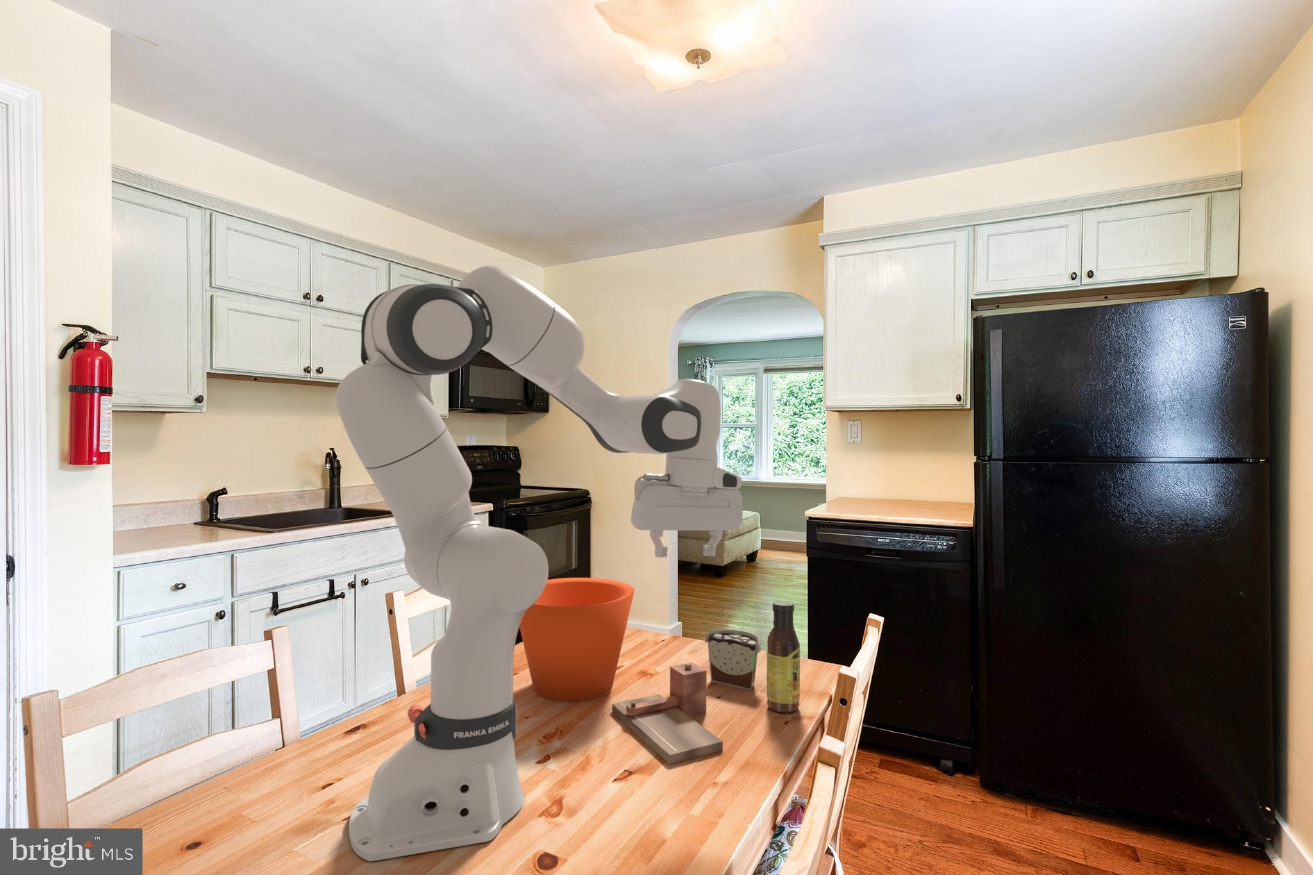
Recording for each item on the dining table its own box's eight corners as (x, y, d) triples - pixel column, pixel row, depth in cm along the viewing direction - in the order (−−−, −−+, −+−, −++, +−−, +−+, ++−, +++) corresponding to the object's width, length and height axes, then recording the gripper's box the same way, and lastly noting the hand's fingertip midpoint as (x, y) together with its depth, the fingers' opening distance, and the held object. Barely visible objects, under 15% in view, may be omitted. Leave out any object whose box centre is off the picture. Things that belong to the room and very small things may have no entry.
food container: (770, 682, 136) (770, 635, 136) (758, 692, 130) (758, 642, 130) (717, 671, 142) (718, 625, 142) (704, 679, 137) (705, 632, 137)
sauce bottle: (800, 715, 119) (800, 608, 119) (765, 712, 120) (766, 606, 121) (799, 701, 126) (800, 600, 126) (767, 699, 127) (767, 598, 127)
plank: (669, 764, 101) (669, 754, 101) (612, 711, 120) (612, 703, 120) (722, 750, 106) (722, 740, 106) (659, 701, 125) (659, 693, 125)
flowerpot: (602, 720, 117) (603, 611, 117) (486, 700, 125) (487, 599, 125) (651, 674, 140) (651, 583, 140) (550, 659, 149) (550, 574, 149)
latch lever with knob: (634, 729, 113) (634, 679, 113) (622, 718, 117) (622, 670, 117) (706, 713, 120) (706, 666, 120) (692, 703, 125) (692, 658, 125)
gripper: (644, 474, 102) (638, 561, 102) (750, 479, 111) (744, 558, 111) (627, 471, 108) (622, 553, 108) (729, 476, 117) (724, 552, 117)
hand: (685, 556), depth 110 cm, fingers open, 8 cm apart
